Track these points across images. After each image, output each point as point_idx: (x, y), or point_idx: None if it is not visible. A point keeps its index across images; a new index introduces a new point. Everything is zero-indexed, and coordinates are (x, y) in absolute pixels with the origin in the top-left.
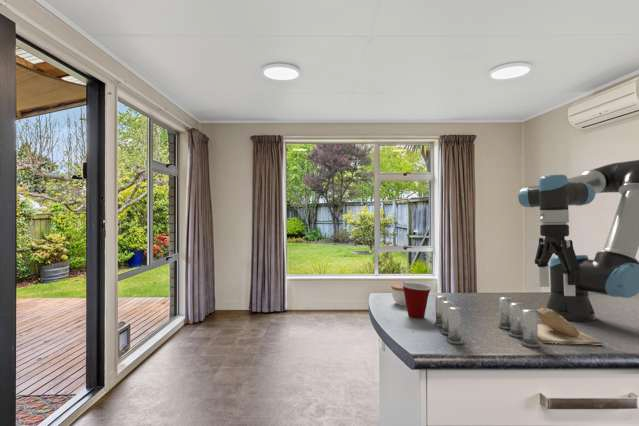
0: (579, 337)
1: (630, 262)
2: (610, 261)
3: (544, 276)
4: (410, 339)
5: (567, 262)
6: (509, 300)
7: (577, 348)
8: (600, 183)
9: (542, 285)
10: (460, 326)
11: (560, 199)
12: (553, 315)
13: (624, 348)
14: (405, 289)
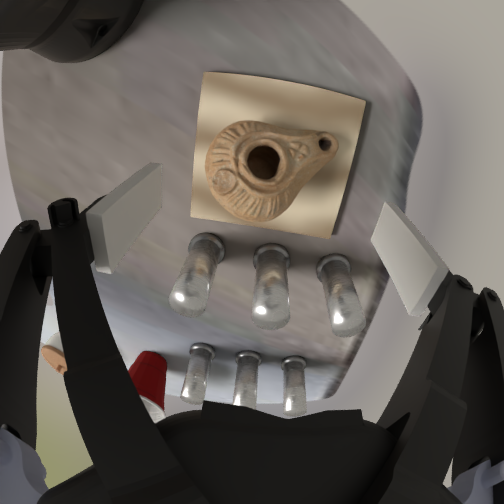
0: (325, 127)
1: None
2: None
3: (138, 212)
4: (273, 394)
5: (465, 373)
6: (205, 300)
7: (369, 180)
8: None
9: (158, 200)
10: (303, 383)
11: None
12: (288, 191)
13: (382, 64)
14: (151, 415)
